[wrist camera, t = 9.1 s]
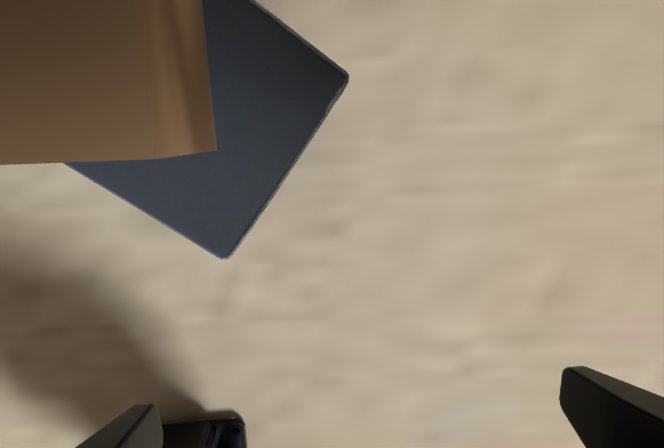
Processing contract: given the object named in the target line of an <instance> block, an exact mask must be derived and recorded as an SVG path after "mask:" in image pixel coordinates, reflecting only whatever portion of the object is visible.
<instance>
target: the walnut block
mask: <svg viewBox="0 0 664 448" xmlns="http://www.w3.org/2000/svg"><path fill="white" fill-rule="evenodd" d="M210 151H217V143H216V133H215V123H214V113H213V104H212V94H211V84H210V75H209V65H208V55H207V45H206V34H205V24H204V14H203V4H202V0H0V165H8V164H36V163H64V162H92V161H120V160H148V159H161V158H168V157H175V156H182V155H189V154H196V153H203V152H210Z"/></svg>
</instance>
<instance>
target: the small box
mask: <svg viewBox="0 0 664 448" xmlns="http://www.w3.org/2000/svg"><path fill="white" fill-rule="evenodd" d="M202 4H203V14H204V24H205V34H206V45H207V55H208V65H209V75H210V84H211V94H212V104H213V113H214V123H215V133H216V143H217V151H210V152H203V153H196V154H189V155H182V156H175V157H168V158H161V159H148V160H120V161H92V162H64V164H65V165H67V166H69V167H70V168H72V169H74V170H75V171H77V172H78V173H80V174H82V175H83V176H85V177H87V178H88V179H90V180H92V181H93V182H95V183H97V184H98V185H100V186H102V187H103V188H105V189H106V190H108V191H110V192H111V193H113V194H115V195H116V196H118V197H120V198H121V199H123V200H125V201H126V202H128V203H130V204H131V205H133V206H135V207H136V208H138V209H139V210H141V211H143V212H144V213H146V214H148V215H149V216H151V217H153V218H154V219H156V220H157V221H159V222H161V223H162V224H164V225H166V226H167V227H169V228H170V229H172V230H174V231H175V232H177V233H179V234H180V235H182V236H184V237H185V238H187V239H189V240H190V241H192V242H194V243H195V244H197V245H198V246H200V247H202V248H203V249H205V250H206V251H208V252H210V253H211V254H213V255H215V256H216V257H218V258H220V259H222V260H226V259H229V258H230V257H231V256H232V255H233V253H234V252H235V251H236V249H237V248H238V247H239V245H240V244H241V243H242V241H243V240H244V238H245V237H246V235H247V234H248V233H249V231H250V230H251V229H252V227H253V225H254V224H255V222H256V221H257V220H258V218H259V217H260V215H261V214H262V212H263V211H264V209H265V208H266V207H267V205H268V204H269V202H270V201H271V199H272V198H273V196H274V195H275V193H276V192H277V190H278V189H279V187H280V186H281V184H282V183H283V181H284V180H285V178H286V177H287V175H288V174H289V172H290V170H291V169H292V167H293V166H294V165H295V163H296V162H297V160H298V159H299V157H300V156H301V154H302V152H303V151H304V150H305V148H306V147H307V145H308V144H309V142H310V141H311V139H312V138H313V136H314V134H315V133H316V131H317V130H318V129H319V127H320V126H321V124H322V123H323V121H324V120H325V118H326V117H327V115H328V113H329V112H330V110H331V109H332V107H333V105H334V104H335V102H336V101H337V100H338V99H339V97H340V96H341V94H342V93H343V91H344V89H345V87H346V85H347V84H348V81H349V74H348V73H347V72H346V71H345V70H343V69H342V68H341V67H339V66H338V65H337V64H336V63H334V62H333V61H332V60H331V59H329V58H328V57H327V56H326V55H324V54H323V53H322V52H320V51H319V50H318V49H316V48H315V47H314V46H313V45H311V44H310V43H309V42H307V41H306V40H305V39H304V38H302V37H301V36H300V35H299V34H297V33H296V32H295V31H293V30H292V29H291V28H290V27H288V26H287V25H286V24H285V23H283V22H282V21H281V20H279V19H278V18H277V17H276V16H274V15H273V14H272V13H270V12H269V11H268V10H266V9H265V8H263V7H262V6H261V5H259V4H258V3H257V2H255V1H254V0H202Z"/></svg>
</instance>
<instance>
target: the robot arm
mask: <svg viewBox="0 0 664 448" xmlns="http://www.w3.org/2000/svg"><path fill="white" fill-rule="evenodd" d="M559 400H560V405H561V408H562V410H563V412H564V414H565V415H566V417H567V418H568V420H569V422H570V423H571V425H572V426H573V428H574V430H575V431H576V433H577V434H578V436H579V438H580V439H581V441H582V442H583V444H584V445H585V447H586V448H664V397H662V396H659V395H657V394H654V393H652V392H649V391H646V390H644V389H641V388H639V387H636V386H634V385H631V384H629V383H626V382H623V381H621V380H618V379H616V378H613V377H611V376H608V375H606V374H603V373H600V372H598V371H595V370H593V369H590V368H588V367H585V366H575V367H567V368H565V369H564V370H563V372H562V378H561V387H560V396H559ZM235 427H237V428H239V429H238V430H236V429H234V428H235ZM75 448H247V439H246V429H245V424H244V422H243V421H242V420H240V419H230V420H218V421H206V422H194V423H181V424H169V425H161V420H160V414H159V409H158V406H157V404H155V403H142V404H136V405H134V406H132V407H131V408H130V409H128V410H127V411H125V412H124V413H123V414H121V415H120V416H118V417H117V418H116V419H114V420H113V421H111V422H110V423H109V424H107V425H106V426H105V427H103V428H102V429H100V430H99V431H98V432H96V433H95V434H93V435H92V436H91V437H89V438H88V439H87V440H85V441H84V442H82V443H81V444H80V445H78V446H77V447H75Z"/></svg>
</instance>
